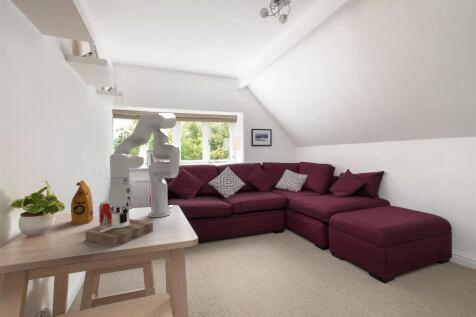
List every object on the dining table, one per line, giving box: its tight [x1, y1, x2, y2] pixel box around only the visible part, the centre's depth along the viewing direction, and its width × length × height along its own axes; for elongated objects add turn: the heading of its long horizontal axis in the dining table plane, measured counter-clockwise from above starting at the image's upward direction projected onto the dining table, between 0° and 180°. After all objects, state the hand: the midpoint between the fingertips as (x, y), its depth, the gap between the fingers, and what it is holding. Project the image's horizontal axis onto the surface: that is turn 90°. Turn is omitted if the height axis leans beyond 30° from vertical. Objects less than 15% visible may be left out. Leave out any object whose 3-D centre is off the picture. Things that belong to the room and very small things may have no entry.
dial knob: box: [100, 210, 130, 232], centre depth 100 cm, size 13×7×6 cm, turn 156°
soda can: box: [98, 200, 114, 227], centre depth 117 cm, size 7×7×12 cm
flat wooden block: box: [85, 218, 154, 248], centre depth 103 cm, size 20×18×4 cm
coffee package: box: [70, 179, 94, 226], centre depth 124 cm, size 10×12×22 cm
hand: (120, 221), depth 102 cm, fingers closed on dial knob, 2 cm apart
